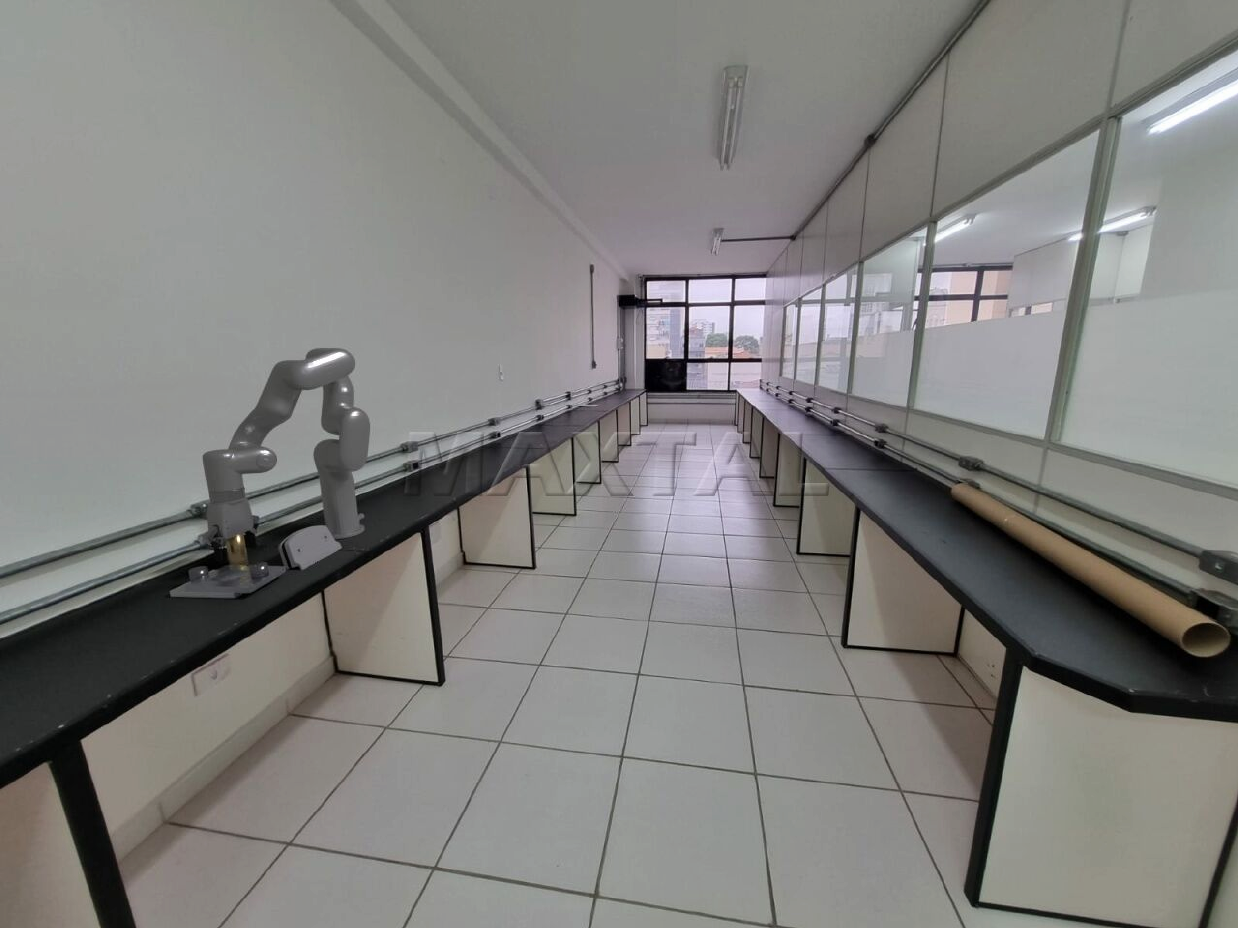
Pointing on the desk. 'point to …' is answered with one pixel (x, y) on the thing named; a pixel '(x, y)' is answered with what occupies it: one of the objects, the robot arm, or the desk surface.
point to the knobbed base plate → (227, 580)
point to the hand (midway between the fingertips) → (237, 554)
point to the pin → (237, 550)
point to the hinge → (307, 547)
